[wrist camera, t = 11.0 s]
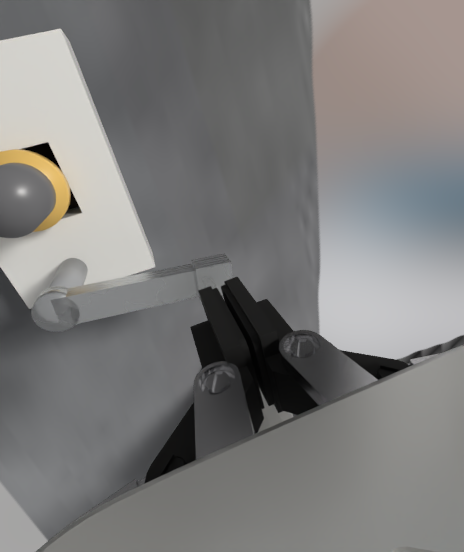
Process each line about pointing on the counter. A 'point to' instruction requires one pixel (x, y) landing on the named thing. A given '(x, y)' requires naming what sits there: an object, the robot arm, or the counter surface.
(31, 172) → the plug
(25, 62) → the socket block
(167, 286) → the clip
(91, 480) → the counter surface
